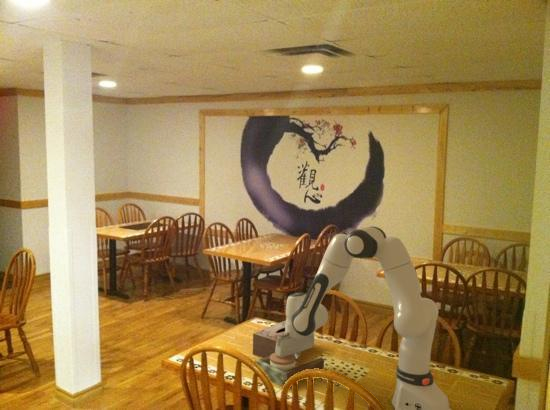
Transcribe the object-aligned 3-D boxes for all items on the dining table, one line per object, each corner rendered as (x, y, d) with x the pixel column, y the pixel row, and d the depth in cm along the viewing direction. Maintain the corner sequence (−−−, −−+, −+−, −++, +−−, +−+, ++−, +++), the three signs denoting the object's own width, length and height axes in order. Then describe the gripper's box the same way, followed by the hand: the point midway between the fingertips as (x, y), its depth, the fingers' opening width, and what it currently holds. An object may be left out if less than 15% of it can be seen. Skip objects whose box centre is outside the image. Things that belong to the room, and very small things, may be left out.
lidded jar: (264, 372, 206) (265, 350, 205) (287, 367, 212) (287, 346, 211) (277, 382, 197) (277, 360, 196) (300, 377, 202) (300, 355, 201)
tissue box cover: (286, 339, 245) (286, 319, 244) (310, 346, 236) (311, 326, 235) (252, 354, 225) (253, 333, 224) (277, 363, 216) (278, 341, 215)
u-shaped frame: (323, 370, 210) (324, 359, 209) (282, 387, 194) (283, 374, 193) (295, 357, 222) (295, 346, 222) (254, 372, 206) (255, 360, 205)
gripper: (282, 338, 199) (281, 371, 200) (317, 327, 213) (316, 358, 214) (272, 333, 204) (271, 366, 205) (306, 323, 217) (305, 353, 219)
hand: (294, 362), depth 210 cm, fingers closed
